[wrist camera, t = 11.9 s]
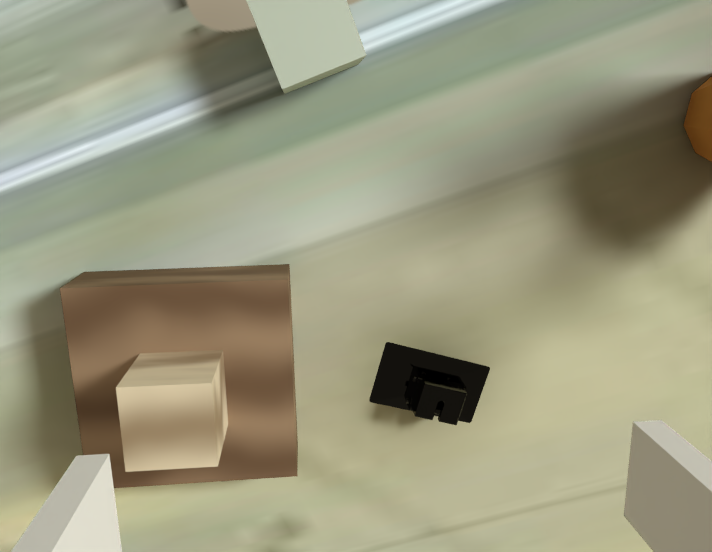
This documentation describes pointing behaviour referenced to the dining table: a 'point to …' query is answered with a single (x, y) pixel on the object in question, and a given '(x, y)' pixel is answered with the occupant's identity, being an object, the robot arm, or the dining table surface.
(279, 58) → the sage cube
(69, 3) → the dining table surface
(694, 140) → the potted plant
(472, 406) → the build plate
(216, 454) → the maple cube
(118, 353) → the walnut block
